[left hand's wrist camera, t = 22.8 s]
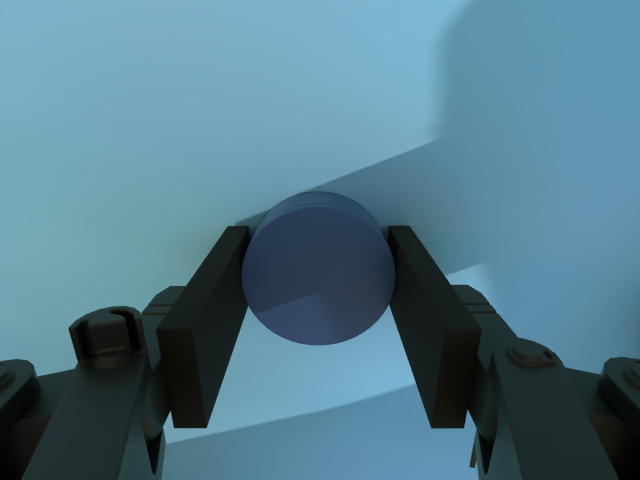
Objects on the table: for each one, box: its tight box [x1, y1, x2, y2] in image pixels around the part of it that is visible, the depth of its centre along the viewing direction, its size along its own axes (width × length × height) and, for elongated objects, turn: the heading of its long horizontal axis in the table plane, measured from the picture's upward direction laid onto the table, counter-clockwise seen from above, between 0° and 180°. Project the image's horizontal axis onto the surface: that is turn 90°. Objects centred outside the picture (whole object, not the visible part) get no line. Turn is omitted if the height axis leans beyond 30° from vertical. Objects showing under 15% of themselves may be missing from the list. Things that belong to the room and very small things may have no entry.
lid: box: [241, 192, 396, 345], centre depth 13 cm, size 5×5×2 cm
